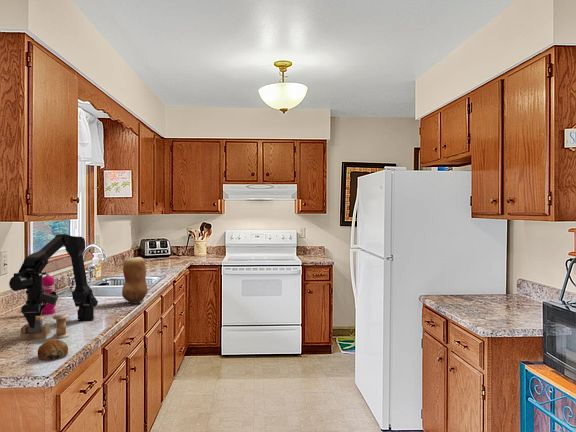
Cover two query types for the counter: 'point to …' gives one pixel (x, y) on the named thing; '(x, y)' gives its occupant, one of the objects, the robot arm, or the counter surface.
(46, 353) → the bread roll
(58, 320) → the door knob
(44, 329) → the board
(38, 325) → the block
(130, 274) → the butternut squash
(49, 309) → the pepper mill
